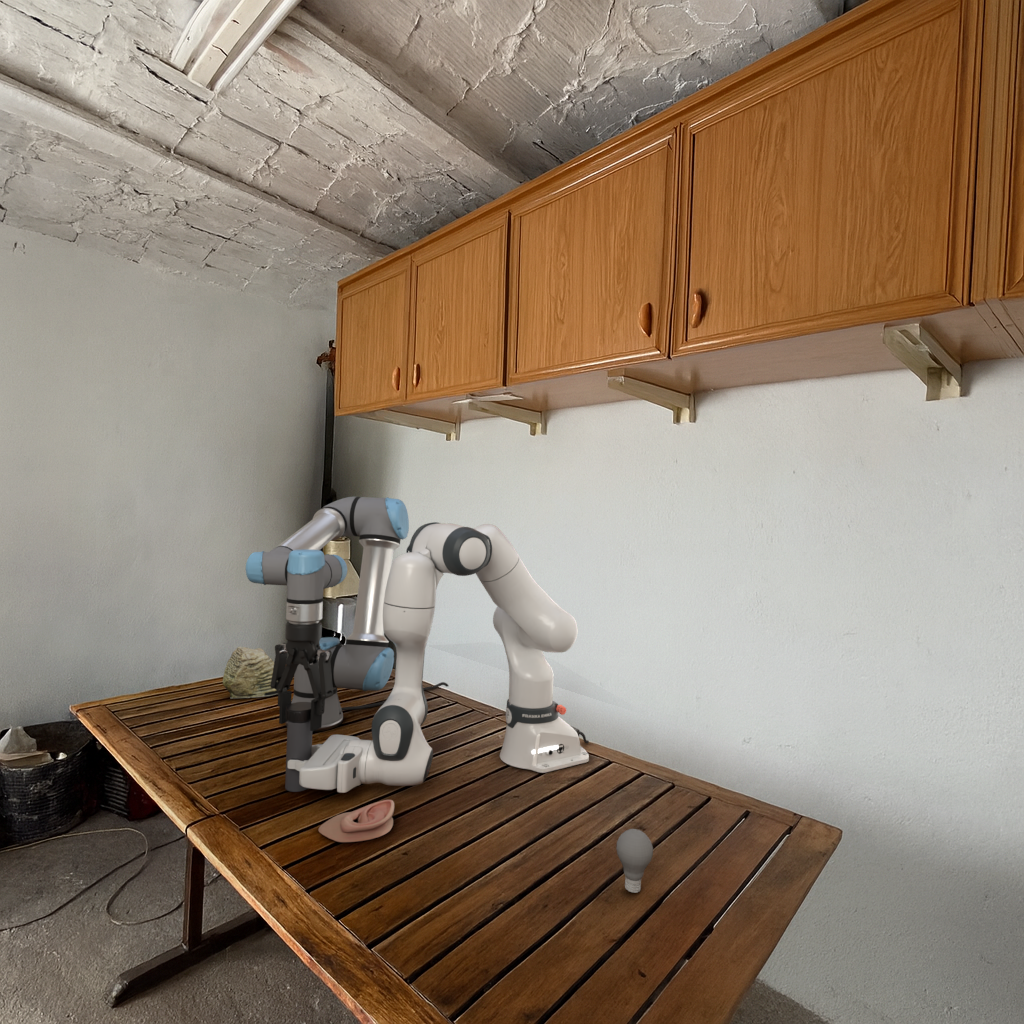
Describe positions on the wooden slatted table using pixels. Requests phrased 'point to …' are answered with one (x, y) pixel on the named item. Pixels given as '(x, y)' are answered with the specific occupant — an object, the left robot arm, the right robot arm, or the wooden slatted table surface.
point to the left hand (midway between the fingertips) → (300, 725)
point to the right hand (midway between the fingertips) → (294, 757)
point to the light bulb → (634, 857)
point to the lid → (298, 711)
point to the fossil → (249, 674)
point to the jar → (297, 751)
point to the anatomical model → (360, 823)
